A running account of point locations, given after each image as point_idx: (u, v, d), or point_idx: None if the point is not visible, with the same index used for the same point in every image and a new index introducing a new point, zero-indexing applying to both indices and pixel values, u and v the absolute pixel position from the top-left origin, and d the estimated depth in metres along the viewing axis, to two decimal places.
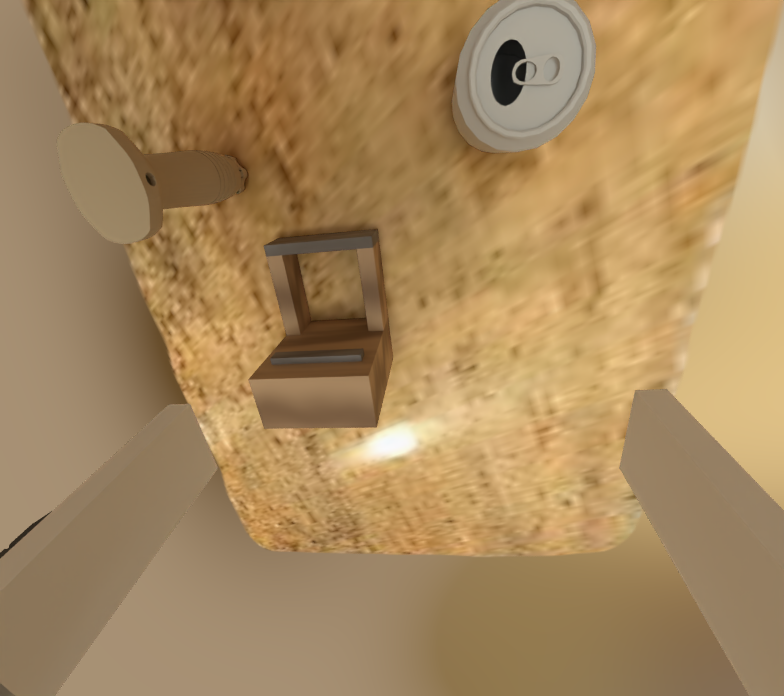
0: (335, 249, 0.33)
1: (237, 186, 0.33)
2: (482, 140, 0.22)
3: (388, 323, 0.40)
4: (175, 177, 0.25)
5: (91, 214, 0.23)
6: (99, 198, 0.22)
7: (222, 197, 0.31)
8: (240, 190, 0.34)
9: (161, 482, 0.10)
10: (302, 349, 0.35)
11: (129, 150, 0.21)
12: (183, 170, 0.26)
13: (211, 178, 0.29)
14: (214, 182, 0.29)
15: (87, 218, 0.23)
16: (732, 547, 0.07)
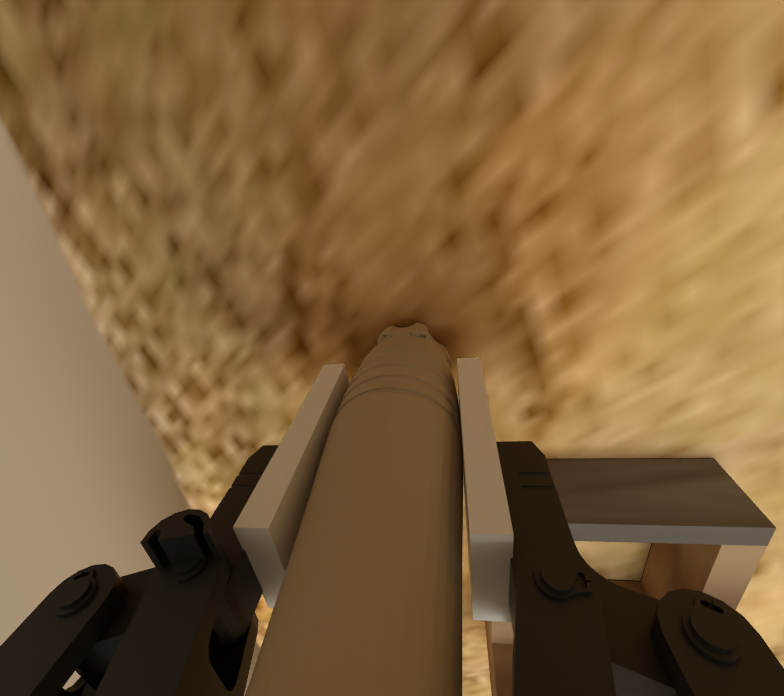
0: (667, 541, 0.14)
1: None
2: None
3: None
4: (460, 646, 0.06)
5: None
6: None
7: None
8: None
9: None
10: None
11: None
12: (455, 565, 0.07)
13: None
14: None
15: None
16: (463, 459, 0.09)
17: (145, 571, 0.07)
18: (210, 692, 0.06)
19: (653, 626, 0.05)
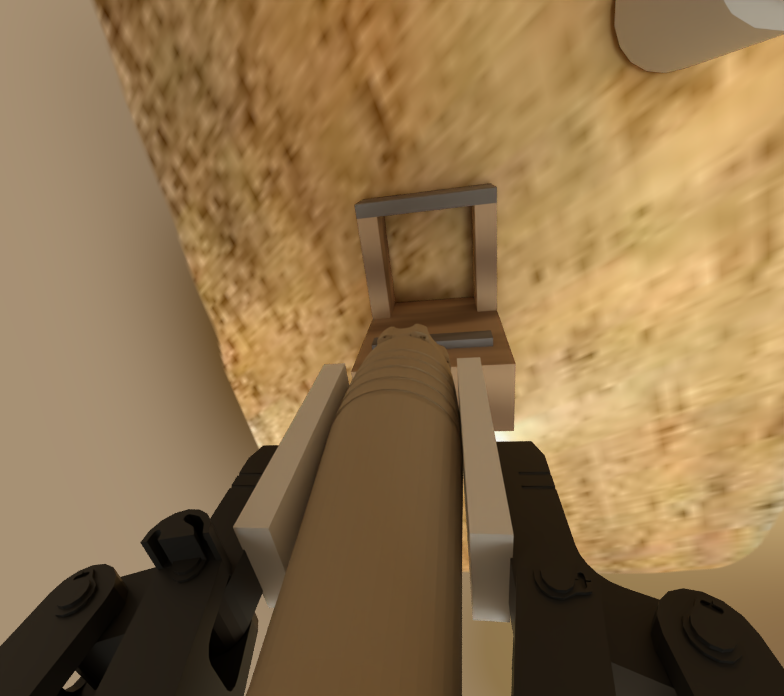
0: (447, 206, 0.26)
1: None
2: (737, 14, 0.15)
3: None
4: (460, 649, 0.06)
5: None
6: None
7: None
8: None
9: None
10: None
11: None
12: (455, 568, 0.07)
13: (462, 479, 0.10)
14: None
15: None
16: (463, 459, 0.09)
17: (145, 571, 0.07)
18: (210, 692, 0.06)
19: (653, 626, 0.05)
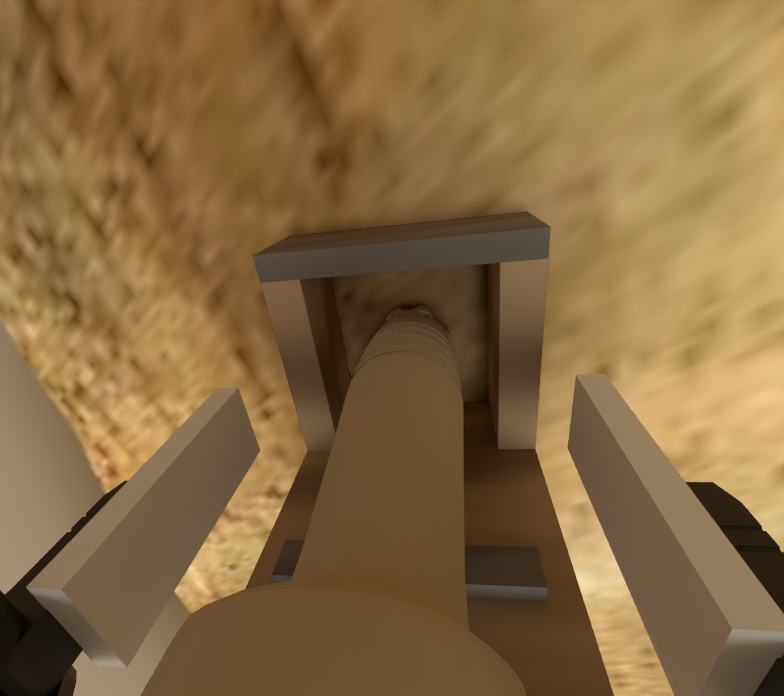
0: (442, 264, 0.13)
1: None
2: None
3: None
4: (463, 533, 0.08)
5: None
6: None
7: None
8: None
9: (216, 460, 0.11)
10: None
11: None
12: (459, 478, 0.09)
13: None
14: None
15: None
16: (636, 505, 0.07)
17: None
18: None
19: None
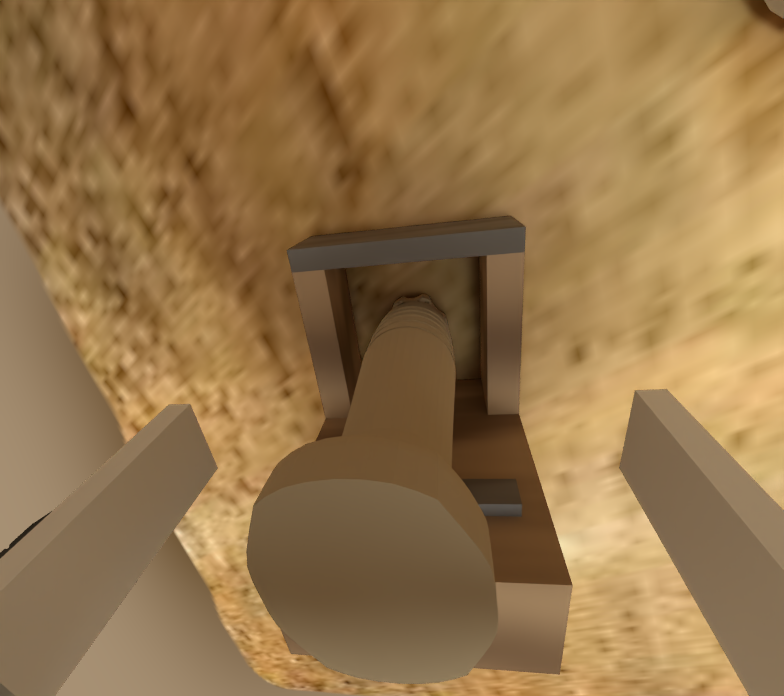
0: (440, 256, 0.16)
1: None
2: None
3: None
4: (451, 448, 0.11)
5: (308, 632, 0.08)
6: (343, 613, 0.08)
7: None
8: None
9: (161, 482, 0.10)
10: None
11: (475, 529, 0.07)
12: (448, 414, 0.12)
13: None
14: None
15: (294, 636, 0.08)
16: (732, 547, 0.07)
17: None
18: None
19: None
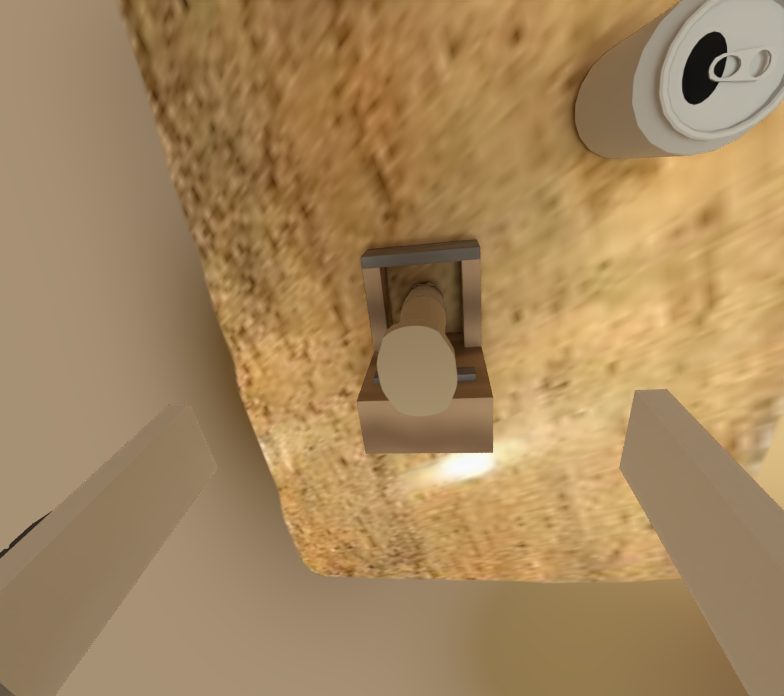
0: (438, 261, 0.31)
1: None
2: (654, 143, 0.21)
3: None
4: None
5: (393, 393, 0.24)
6: (406, 381, 0.23)
7: None
8: None
9: (161, 482, 0.10)
10: None
11: (449, 345, 0.22)
12: (442, 329, 0.27)
13: None
14: None
15: (387, 395, 0.24)
16: (732, 547, 0.07)
17: None
18: None
19: None
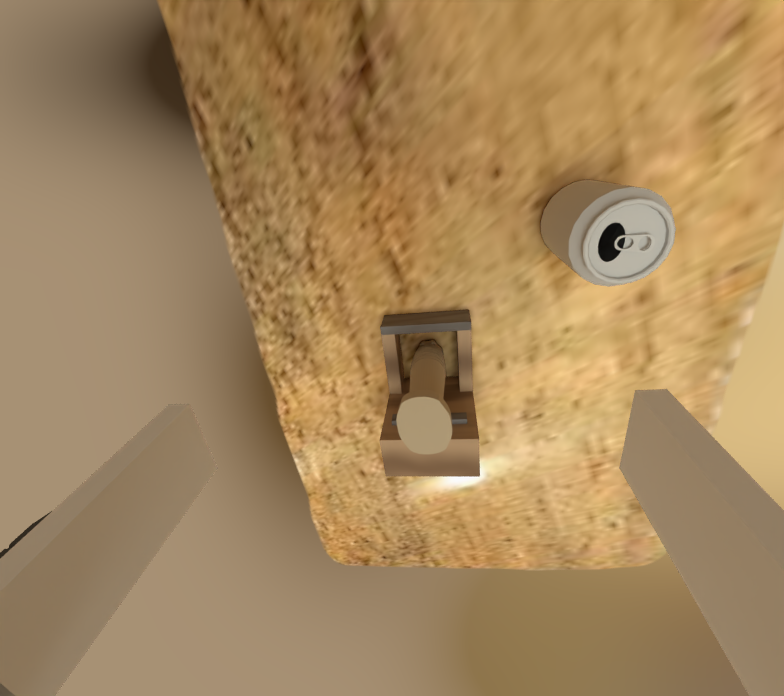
0: (439, 330, 0.41)
1: None
2: (584, 278, 0.30)
3: None
4: (442, 397, 0.37)
5: (407, 438, 0.34)
6: (417, 431, 0.34)
7: None
8: None
9: (161, 482, 0.10)
10: None
11: (446, 408, 0.33)
12: (442, 388, 0.38)
13: None
14: None
15: (403, 440, 0.34)
16: (732, 547, 0.07)
17: None
18: None
19: None
